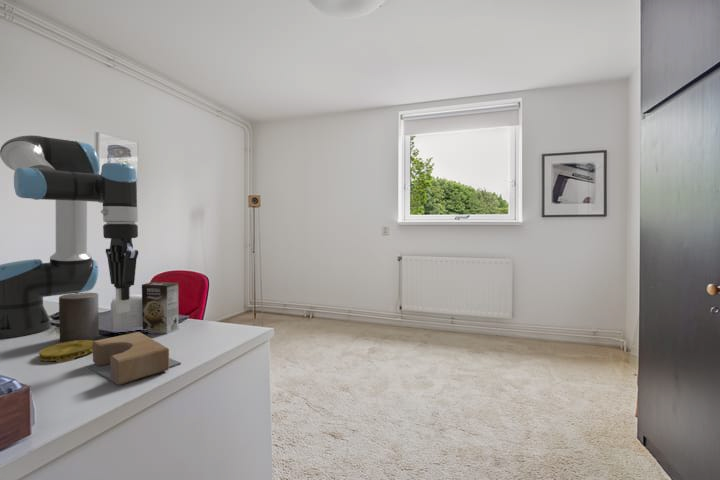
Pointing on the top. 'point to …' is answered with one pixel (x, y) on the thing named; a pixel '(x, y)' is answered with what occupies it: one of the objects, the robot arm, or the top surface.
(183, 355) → the top surface
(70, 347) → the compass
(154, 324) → the coffee box
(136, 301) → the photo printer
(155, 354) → the decorative block
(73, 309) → the pillar candle
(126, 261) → the robot arm
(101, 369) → the mat
